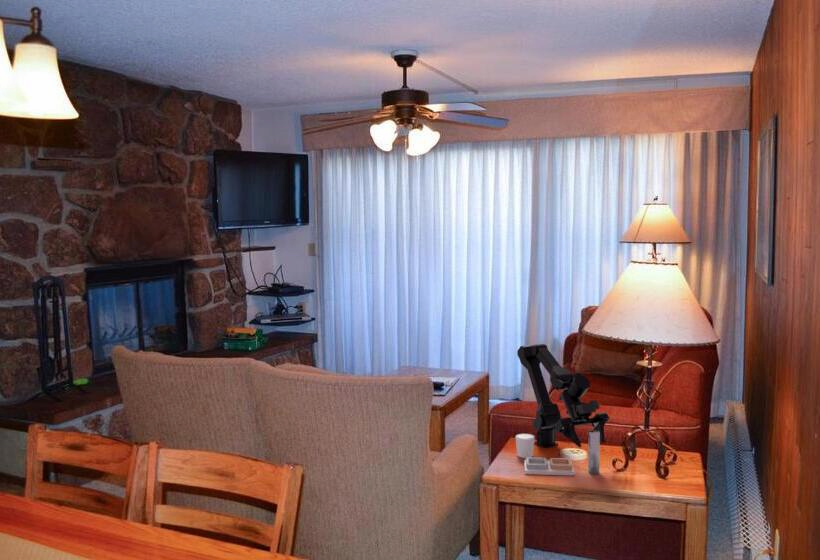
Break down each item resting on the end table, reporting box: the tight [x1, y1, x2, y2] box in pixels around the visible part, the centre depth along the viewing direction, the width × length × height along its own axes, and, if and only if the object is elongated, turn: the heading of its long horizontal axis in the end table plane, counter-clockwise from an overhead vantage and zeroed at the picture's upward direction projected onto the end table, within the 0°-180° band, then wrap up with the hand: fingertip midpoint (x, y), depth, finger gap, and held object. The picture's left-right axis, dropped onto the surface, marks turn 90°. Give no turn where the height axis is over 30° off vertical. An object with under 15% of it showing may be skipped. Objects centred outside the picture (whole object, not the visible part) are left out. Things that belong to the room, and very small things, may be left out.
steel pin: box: [587, 429, 601, 476], centre depth 244 cm, size 4×4×14 cm
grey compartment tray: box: [523, 457, 575, 476], centre depth 249 cm, size 10×16×3 cm, turn 83°
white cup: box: [515, 433, 536, 459], centre depth 263 cm, size 7×7×7 cm
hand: (592, 445), depth 245 cm, fingers open, 9 cm apart
